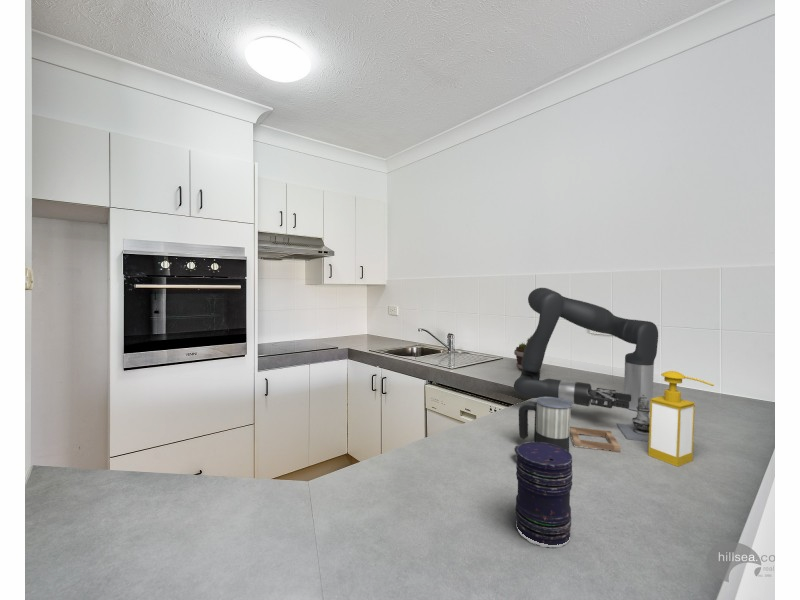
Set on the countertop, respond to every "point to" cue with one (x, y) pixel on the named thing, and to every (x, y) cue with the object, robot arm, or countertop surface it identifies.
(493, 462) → the countertop surface
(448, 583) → the countertop surface
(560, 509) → the navy blue cylinder
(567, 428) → the milk frother
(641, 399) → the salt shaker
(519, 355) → the flowerpot
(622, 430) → the slate mat
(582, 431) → the holder frame
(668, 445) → the soap bottle
